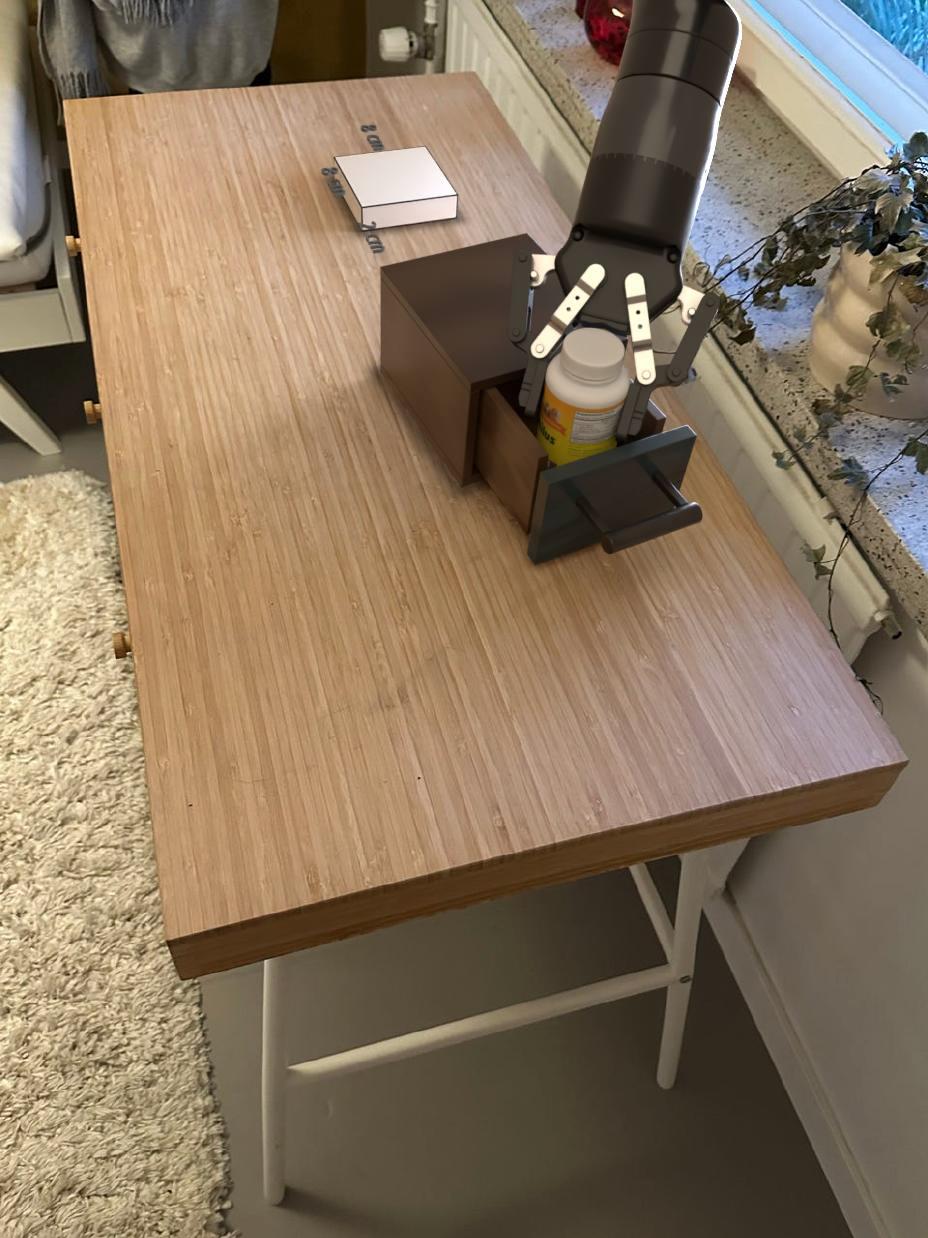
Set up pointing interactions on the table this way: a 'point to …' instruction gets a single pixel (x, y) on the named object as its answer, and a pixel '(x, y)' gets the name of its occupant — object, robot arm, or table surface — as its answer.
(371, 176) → the container
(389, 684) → the table surface
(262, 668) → the table surface
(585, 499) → the drawer
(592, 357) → the supplement bottle
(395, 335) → the cabinet
